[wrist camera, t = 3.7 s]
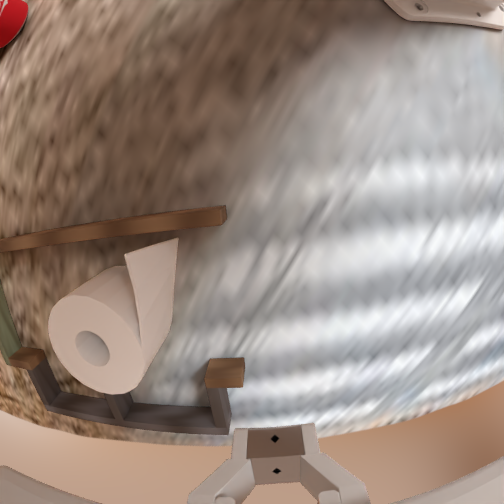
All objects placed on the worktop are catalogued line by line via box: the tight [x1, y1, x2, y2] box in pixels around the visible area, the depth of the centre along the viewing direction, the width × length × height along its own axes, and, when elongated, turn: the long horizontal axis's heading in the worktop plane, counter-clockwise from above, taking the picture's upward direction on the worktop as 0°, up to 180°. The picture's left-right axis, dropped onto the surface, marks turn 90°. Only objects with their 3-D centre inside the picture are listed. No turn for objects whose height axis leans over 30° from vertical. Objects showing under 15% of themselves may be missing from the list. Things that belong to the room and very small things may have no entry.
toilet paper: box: [48, 237, 179, 395], centre depth 21 cm, size 8×11×7 cm
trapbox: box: [0, 205, 245, 435], centre depth 24 cm, size 28×20×3 cm
